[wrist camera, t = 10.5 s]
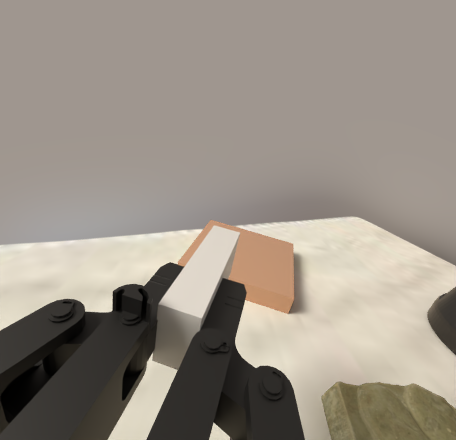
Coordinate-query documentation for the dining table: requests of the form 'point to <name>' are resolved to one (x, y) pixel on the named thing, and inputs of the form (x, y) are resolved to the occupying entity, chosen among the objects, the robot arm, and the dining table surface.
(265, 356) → the dining table surface
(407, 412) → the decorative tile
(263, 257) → the standing tile
